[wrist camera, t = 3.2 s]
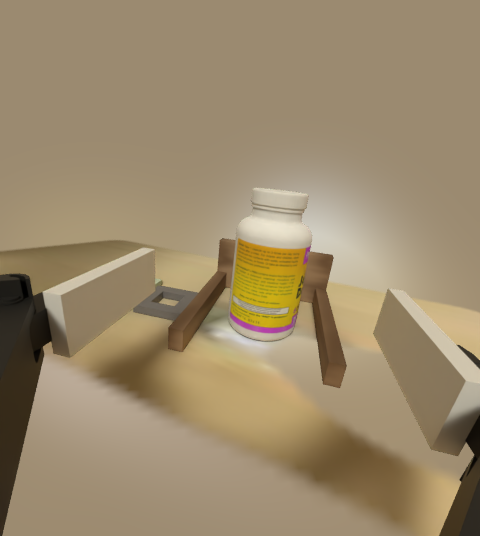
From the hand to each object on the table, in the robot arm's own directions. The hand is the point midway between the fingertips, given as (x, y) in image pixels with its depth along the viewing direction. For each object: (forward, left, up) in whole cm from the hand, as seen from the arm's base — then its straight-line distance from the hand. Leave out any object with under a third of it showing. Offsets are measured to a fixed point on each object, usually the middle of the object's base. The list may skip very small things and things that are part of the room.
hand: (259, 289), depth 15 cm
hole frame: (-10, +9, -8) cm, 16 cm away
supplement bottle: (0, +9, -8) cm, 12 cm away
